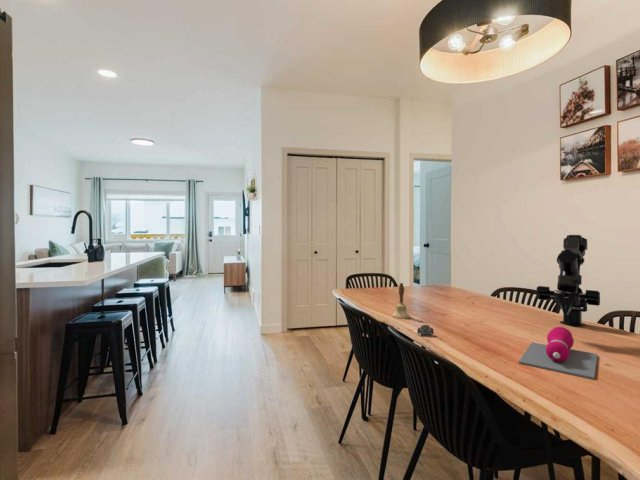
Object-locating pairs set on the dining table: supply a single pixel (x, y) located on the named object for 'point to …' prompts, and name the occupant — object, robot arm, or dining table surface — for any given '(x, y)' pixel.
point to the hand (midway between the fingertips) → (565, 314)
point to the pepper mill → (559, 344)
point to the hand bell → (401, 305)
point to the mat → (574, 365)
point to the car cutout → (425, 330)
